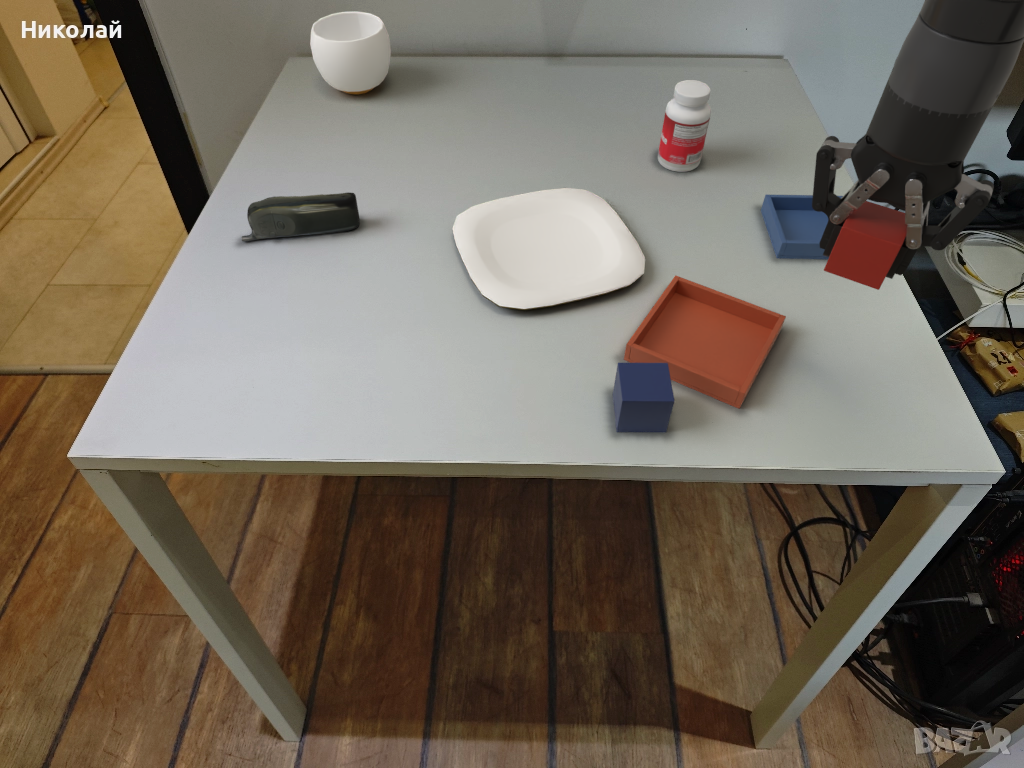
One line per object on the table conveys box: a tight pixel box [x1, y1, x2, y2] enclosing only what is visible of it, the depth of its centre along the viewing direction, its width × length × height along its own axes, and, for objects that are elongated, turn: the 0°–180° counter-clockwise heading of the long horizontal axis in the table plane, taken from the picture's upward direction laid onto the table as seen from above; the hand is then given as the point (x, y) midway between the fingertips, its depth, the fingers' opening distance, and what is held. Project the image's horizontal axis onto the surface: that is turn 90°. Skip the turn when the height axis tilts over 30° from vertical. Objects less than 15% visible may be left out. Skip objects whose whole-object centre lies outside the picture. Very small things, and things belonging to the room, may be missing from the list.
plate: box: [452, 187, 646, 311], centre depth 90 cm, size 22×22×2 cm
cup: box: [309, 10, 392, 95], centre depth 115 cm, size 12×12×10 cm
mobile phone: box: [241, 191, 361, 242], centre depth 92 cm, size 5×3×15 cm
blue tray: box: [760, 193, 844, 260], centre depth 92 cm, size 10×10×2 cm
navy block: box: [612, 362, 676, 433], centre depth 72 cm, size 5×5×5 cm
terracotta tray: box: [623, 274, 787, 409], centre depth 79 cm, size 13×13×2 cm
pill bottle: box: [657, 79, 712, 173], centre depth 100 cm, size 6×6×11 cm
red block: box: [823, 200, 906, 291], centre depth 65 cm, size 5×5×5 cm
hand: (859, 261), depth 67 cm, fingers closed on red block, 5 cm apart
